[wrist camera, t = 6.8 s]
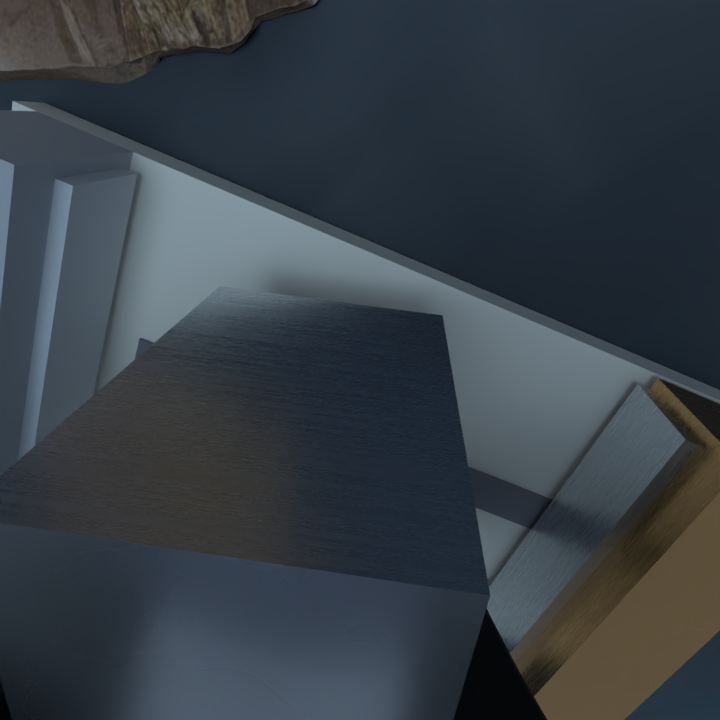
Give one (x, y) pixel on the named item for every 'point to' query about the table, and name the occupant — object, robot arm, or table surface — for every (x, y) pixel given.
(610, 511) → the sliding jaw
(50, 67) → the wooden fragment
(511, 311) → the vise base
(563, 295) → the table surface
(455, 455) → the steel block
